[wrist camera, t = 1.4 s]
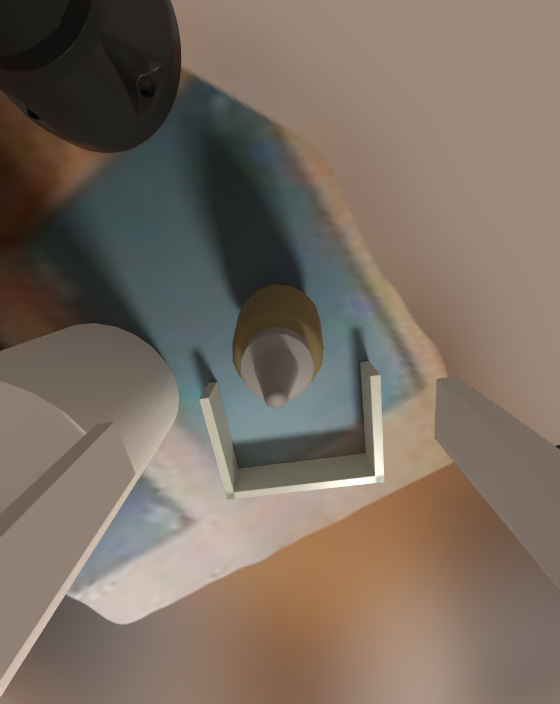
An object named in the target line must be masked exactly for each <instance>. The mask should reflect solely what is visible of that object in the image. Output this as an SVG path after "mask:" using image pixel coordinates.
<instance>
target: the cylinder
mask: <svg viewBox="0 0 560 704" xmlns="http://www.w3.org/2000/svg"><path fill="white" fill-rule="evenodd" d="M178 402H179V394H178V390H177V385H176V381H175V378H174V376H173V374H172V372H171V370H170V369H169V367H168V365H167V363H166V362H165V360H164V359H163V358H162V357H161V356H160V355H159V354H158V353H157V351H156V350H155V349H154V348H153V347H152V346H150V345H149V344H148V343H146V342H145V341H143V340H142V339H141V338H139V337H138V336H136V335H134V334H132V333H130V332H127V331H125V330H123V329H120V328H118V327H115V326H109V325H103V324H98V323H90V324H78V325H73V326H70V327H67V328H65V329H62V330H59V331H56V332H53V333H50V334H47V335H45V336H42V337H39V338H36V339H33V340H30V341H27V342H24V343H22V344H19V345H16V346H13V347H10V348H7V349H4V350H2V351H0V514H1V513H2V512H3V511H4V510H5V509H6V508H7V507H8V506H9V505H11V504H12V503H13V502H14V501H15V500H16V499H17V498H18V497H19V496H20V495H21V494H22V493H23V492H24V491H26V490H27V489H28V488H29V487H30V486H31V485H32V484H33V483H34V482H35V481H36V480H37V479H38V478H39V477H41V476H42V475H43V474H44V473H45V472H46V471H47V470H48V469H49V468H50V467H51V466H52V465H53V464H54V463H56V462H57V461H58V460H59V459H60V458H61V457H62V456H63V455H64V454H65V453H66V452H67V451H68V450H69V449H71V448H72V447H73V446H74V445H75V444H76V443H77V442H78V441H79V440H80V439H81V438H82V437H83V436H84V435H86V434H87V433H88V432H89V431H90V430H91V429H92V428H93V427H94V426H95V425H96V424H101V423H109V422H115V425H116V427H117V430H118V432H119V434H120V437H121V439H122V442H123V444H124V447H125V449H126V452H127V454H128V456H129V459H130V461H131V464H132V466H133V469H134V471H135V473H136V474H135V476H134V477H133V479H132V480H131V482H130V483H129V485H128V486H127V488H126V489H125V491H124V493H123V494H122V496H121V497H120V499H119V500H118V502H117V503H116V505H115V506H114V508H113V509H112V511H111V512H110V514H109V515H108V517H107V518H106V520H105V522H104V523H103V525H102V526H101V528H100V529H99V531H98V532H97V534H96V535H95V537H94V538H93V540H92V541H91V543H90V544H89V546H88V547H87V549H86V550H85V552H84V554H83V555H82V557H81V558H80V560H79V561H78V563H77V564H76V566H75V567H74V569H73V570H72V572H71V573H70V575H69V576H68V578H67V579H66V581H65V582H64V584H63V586H62V587H61V589H60V590H59V592H58V593H57V595H56V596H55V598H54V599H53V601H52V602H51V604H50V605H49V607H48V608H47V610H46V611H45V613H44V614H43V616H42V618H41V619H40V621H39V622H38V624H37V625H36V627H35V628H34V630H33V631H32V633H31V634H30V636H29V637H28V639H27V640H26V642H25V643H24V645H23V646H22V648H21V650H20V651H19V653H18V654H17V656H16V657H15V659H14V660H13V662H12V663H11V665H10V666H9V668H8V669H7V671H6V672H5V674H4V675H3V677H2V678H1V680H0V697H1V695H2V694H3V692H4V690H5V689H6V687H7V686H8V684H9V682H10V681H11V679H12V678H13V676H14V675H15V673H16V671H17V670H18V668H19V667H20V665H21V664H22V662H23V660H24V659H25V657H26V656H27V654H28V652H29V651H30V649H31V648H32V646H33V645H34V643H35V642H36V640H37V638H38V637H39V635H40V634H41V632H42V630H43V629H44V627H45V626H46V624H47V623H48V621H49V619H50V618H51V616H52V615H53V613H54V611H55V610H56V608H57V607H58V605H59V604H60V602H61V600H62V599H63V597H64V596H65V594H66V593H67V591H68V589H69V588H70V586H71V585H72V583H73V582H74V580H75V578H76V577H77V575H78V574H79V572H80V570H81V569H82V567H83V566H84V564H85V563H86V561H87V559H88V558H89V556H90V555H91V553H92V552H93V550H94V548H95V547H96V545H97V544H98V542H99V540H100V539H101V537H102V536H103V534H104V533H105V531H106V529H107V528H108V526H109V525H110V523H111V522H112V520H113V518H114V517H115V515H116V514H117V512H118V511H119V509H120V507H121V506H122V504H123V503H124V501H125V499H126V498H127V496H128V495H129V493H130V492H131V490H132V488H133V487H134V485H135V484H136V482H137V481H138V479H139V477H140V476H141V474H142V473H143V471H144V469H145V468H146V466H147V465H148V463H149V462H150V460H151V458H152V457H153V455H154V454H155V452H156V451H157V449H158V447H159V446H160V444H161V443H162V441H163V439H164V438H165V436H166V435H167V433H168V432H169V430H170V428H171V427H172V425H173V423H174V420H175V418H176V415H177V413H178Z"/></svg>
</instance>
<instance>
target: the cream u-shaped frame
mask: <svg viewBox="0 0 560 704" xmlns="http://www.w3.org/2000/svg"><path fill="white" fill-rule="evenodd" d="M360 368H361V384H362V401H363V417H364V433H365V450H366V453H363V454H355V455H346V456H338V457H329V458H321V459H313V460H304V461H296V462H287V463H279V464H271V465H262V466H254V467H245V468H238V464H237V460H236V456H235V452H234V448H233V444H232V440H231V436H230V432H229V428H228V424H227V420H226V416H225V412H224V408H223V404H222V400H221V396H220V392H219V388H218V384H217V382H210V383H208V385H207V387H206V388H205V390H204V392H203V394H202V396H201V397H200V403H201V407H202V410H203V414H204V417H205V421H206V424H207V428H208V432H209V435H210V439H211V442H212V446H213V449H214V453H215V457H216V460H217V464H218V467H219V471H220V475H221V478H222V482H223V485H224V489H225V492H226V496H227V499H236V498H245V497H254V496H262V495H271V494H280V493H289V492H298V491H307V490H316V489H325V488H333V487H342V486H351V485H360V484H369V483H378V482H384V464H383V436H382V408H381V380H380V374H379V373H378V371H377V370H376V369H375V368H374V366H373V365H372V364H371V363H370V362H369V361H363V362H360Z"/></svg>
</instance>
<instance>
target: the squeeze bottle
mask: <svg viewBox="0 0 560 704" xmlns="http://www.w3.org/2000/svg"><path fill="white" fill-rule="evenodd" d="M322 358H323V340H322V332H321V324H320V319H319V315H318V312H317V309H316V306H315V304H314V303H313V302H312V301H311V300H310V298H309V297H308V296H307V295H306V294H305V293H304V292H302V291H300V290H298V289H296V288H294V287H292V286H290V285H275V284H272V285H269V286H267V287H264V288H261V289H258V290H256V291H255V292H254V293H253V294H252V295H251V296H250V297H249V298H248V299H247V300H246V301H245V302H244V304H243V306H242V309H241V311H240V313H239V316H238V320H237V324H236V329H235V334H234V339H233V363H234V365H235V367H236V369H237V372H238V374H239V376H240V377H241V378H242V379H243V381H244V383H245V385H246V387H247V388H249V389H250V390H251V391H252V392H253V393H254V394H255V395H256V396H259V397H261V398H263V399H264V400H265V402H266V404H267V405H268V406H269V407H272V408H280V407H283V406H284V405H285V404H286V402H287V400H288V399H292V398H295V397H297V396H298V395H299V394H300V393H302V392H303V391H304V390H306V389H307V387H308V385H309V383H310V382H311V381H312V380H313V379H314V378H315V376H316V374H317V372H318V371H319V369H320V367H321V365H322Z"/></svg>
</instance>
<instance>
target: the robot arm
mask: <svg viewBox="0 0 560 704" xmlns="http://www.w3.org/2000/svg"><path fill="white" fill-rule="evenodd" d="M180 71H181V44H180V35H179V30H178V24H177V20H176V16H175V13H174V9H173V6H172V3H171V1H170V0H0V89H1V90H2V91H3V92H4V93H5V94H6V95H7V97H8V98H9V99H10V100H11V101H12V102H13V103H14V104H15V105H16V106H17V107H18V108H19V109H20V110H21V111H22V112H23V113H24V114H25V115H26V116H28V117H29V118H30V119H31V120H32V121H34V122H35V123H36V124H38V125H39V126H41V127H42V128H44V129H45V130H47V131H48V132H50V133H52V134H54V135H55V136H57V137H59V138H61V139H63V140H65V141H67V142H69V143H71V144H73V145H75V146H77V147H80V148H83V149H86V150H90V151H94V152H102V153H113V152H120V151H125V150H128V149H131V148H133V147H136V146H138V145H139V144H141V143H143V142H144V141H146V140H147V139H148V138H150V137H151V136H152V135H153V134H154V133H155V132H156V131H157V130H158V129H159V127H160V126H161V125H162V123H163V122H164V121H165V119H166V117H167V115H168V114H169V112H170V110H171V107H172V105H173V102H174V100H175V97H176V93H177V89H178V85H179V79H180ZM434 438H435V439H436V440H437V441H438V443H439V444H440V445H441V446H442V448H443V449H444V450H445V451H446V452H447V454H448V455H449V456H450V457H451V459H452V460H453V461H454V462H455V463H456V465H457V466H458V467H459V468H460V469H461V471H462V472H463V473H464V474H465V476H466V477H467V478H468V479H469V480H470V482H471V483H472V484H473V485H474V487H475V488H476V489H477V490H478V491H479V493H480V494H481V495H482V496H483V498H484V499H485V500H486V501H487V502H488V503H489V505H490V506H491V507H492V508H493V510H494V511H495V512H496V513H497V514H498V516H499V517H500V518H501V519H502V520H503V522H504V523H505V524H506V526H507V527H508V528H509V529H510V530H511V532H512V533H513V534H514V535H515V536H516V538H517V539H518V540H519V541H520V543H521V544H522V545H523V546H524V547H525V549H526V550H527V551H528V552H529V554H530V555H531V556H532V557H533V558H534V560H535V561H536V562H537V563H538V565H539V566H540V567H541V568H542V569H543V570H544V572H545V573H546V574H547V575H548V577H549V578H550V579H551V580H552V582H553V583H554V584H555V585H556V586H557V587H558V589H559V590H560V445H557V446H554V445H552V444H551V443H550V442H548V441H547V440H546V439H544V438H543V437H541V436H540V435H539V434H537V433H536V432H534V431H533V430H532V429H530V428H529V427H527V426H526V425H524V424H523V423H522V422H520V421H519V420H518V419H516V418H515V417H513V416H512V415H511V414H509V413H508V412H506V411H505V410H503V409H502V408H500V407H499V406H498V405H497V404H495V403H494V402H492V401H491V400H489V399H488V398H487V397H485V396H484V395H482V394H481V393H480V392H478V391H477V390H475V389H474V388H473V387H471V386H469V385H468V384H467V383H466V382H464V381H463V380H461V379H460V378H459V377H457V376H456V377H448V378H441V379H437V386H436V411H435V437H434ZM135 474H136V473H135V471H134V469H133V466H132V464H131V461H130V459H129V456H128V454H127V452H126V449H125V447H124V444H123V442H122V439H121V437H120V434H119V432H118V430H117V427H116V425H115V422H109V423H101V424H96V425H95V426H94V427H93V428H92V429H91V430H90V431H89V432H88V433H87V434H86V435H84V436H83V437H82V438H81V439H80V440H79V441H78V442H77V443H76V444H75V445H74V446H73V447H72V448H71V449H69V450H68V451H67V452H66V453H65V454H64V455H63V456H62V457H61V458H60V459H59V460H58V461H57V462H56V463H54V464H53V465H52V466H51V467H50V468H49V469H48V470H47V471H46V472H45V473H44V474H43V475H42V476H41V477H39V478H38V479H37V480H36V481H35V482H34V483H33V484H32V485H31V486H30V487H29V488H28V489H27V490H26V491H24V492H23V493H22V494H21V495H20V496H19V497H18V498H17V499H16V500H15V501H14V502H13V503H12V504H11V505H9V506H8V507H7V508H6V509H5V510H4V511H3V512H2V513H1V514H0V680H1V678H2V677H3V675H4V674H5V672H6V671H7V669H8V668H9V666H10V665H11V663H12V662H13V660H14V659H15V657H16V656H17V654H18V653H19V651H20V650H21V648H22V646H23V645H24V643H25V642H26V640H27V639H28V637H29V636H30V634H31V633H32V631H33V630H34V628H35V627H36V625H37V624H38V622H39V621H40V619H41V618H42V616H43V614H44V613H45V611H46V610H47V608H48V607H49V605H50V604H51V602H52V601H53V599H54V598H55V596H56V595H57V593H58V592H59V590H60V589H61V587H62V586H63V584H64V582H65V581H66V579H67V578H68V576H69V575H70V573H71V572H72V570H73V569H74V567H75V566H76V564H77V563H78V561H79V560H80V558H81V557H82V555H83V554H84V552H85V550H86V549H87V547H88V546H89V544H90V543H91V541H92V540H93V538H94V537H95V535H96V534H97V532H98V531H99V529H100V528H101V526H102V525H103V523H104V522H105V520H106V518H107V517H108V515H109V514H110V512H111V511H112V509H113V508H114V506H115V505H116V503H117V502H118V500H119V499H120V497H121V496H122V494H123V493H124V491H125V489H126V488H127V486H128V485H129V483H130V482H131V480H132V479H133V477H134V476H135Z"/></svg>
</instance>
